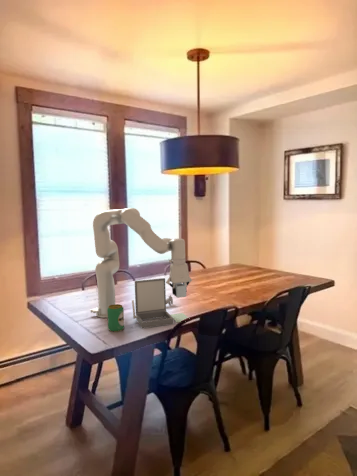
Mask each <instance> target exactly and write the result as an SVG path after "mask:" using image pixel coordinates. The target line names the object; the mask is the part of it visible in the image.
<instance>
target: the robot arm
mask: <svg viewBox="0 0 357 476" xmlns="http://www.w3.org/2000/svg"><path fill="white" fill-rule="evenodd" d="M121 224H125V225H126V226H127V227H129V228H130V229H131V230H132V231H134V233H136V234H137V235H138V236H139V237H140V238H141V239H142V241H143V242H144V244H145V245H147V246H148V247H149V248H150V249H151V250H153V251H154V252H156V253H157V254H159V255H163V254H165V253H168V252H170V255H171V259H170V260H168V263H170V267H169V276H168V279H166V280H165V284H167V285H168V286H170V287H171V289H172V291H171V292H172V295H174V297H176V288H175V285H176V283H183V284H184V285H186V293H188V292H187V288H188V286H189V284H190V283H191V282H192V281H193V279H192V278H191V277H190V273H189V265H188V263H186V241H185V239H184V238H168V237H166V238H161V237H160V236H159V235H157V234H156V233H155V232H154V231H153V229H152V226H151V224H150V223H149V221H147V220H146V219H145V218H143V217H142V216H141V214H140V211H139V210H138V209H137V208H134V207H127V208H121V209H108V210H107V209H105V210H103V211H100V212H98V213H97V214H96V216H94V219H93V221H92V228H93V237H94V246H95V247H94V248H95V254H96V256H97V257H99V258H101V259H103V260H101V261H99V262H98V263H97V264H96V266H95V270H94V272H95V275H96V281H97V283H96V284H97V297H98V299H97V300H98V306H97V307H96V308H90V310H89V311H90V313H92V314H95V315H96V317H98V318H101V319H102V318H104V319H105V318H106V319H108V311H107V309H108V307H109V306H110V305H114V304H116V289H115V288H116V287H115V286H116V285H115V280H114V279H115V278H114V275H115V274H116V272H117V273H118V271H119V269H120V256H119V248H118V247H119V246H118V245H117V242H115V240H112V239H111V237H110V230H109V228H108V227H109V226H114V225H121Z"/></svg>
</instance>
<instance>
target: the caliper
mask: <svg viewBox="0 0 357 476" xmlns="http://www.w3.org/2000/svg"><path fill="white" fill-rule="evenodd" d="M167 304H168V305H169V306H171V305H173V304H174V299H173V297H172V295H171V294H170V295H168V298H167V297H166V305H167Z"/></svg>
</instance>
